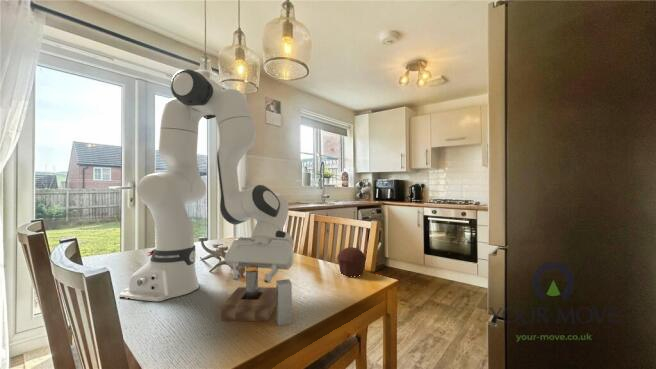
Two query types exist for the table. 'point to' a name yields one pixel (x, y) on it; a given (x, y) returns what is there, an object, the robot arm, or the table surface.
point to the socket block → (249, 305)
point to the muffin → (351, 261)
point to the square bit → (283, 302)
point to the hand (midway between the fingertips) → (250, 280)
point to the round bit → (252, 282)
